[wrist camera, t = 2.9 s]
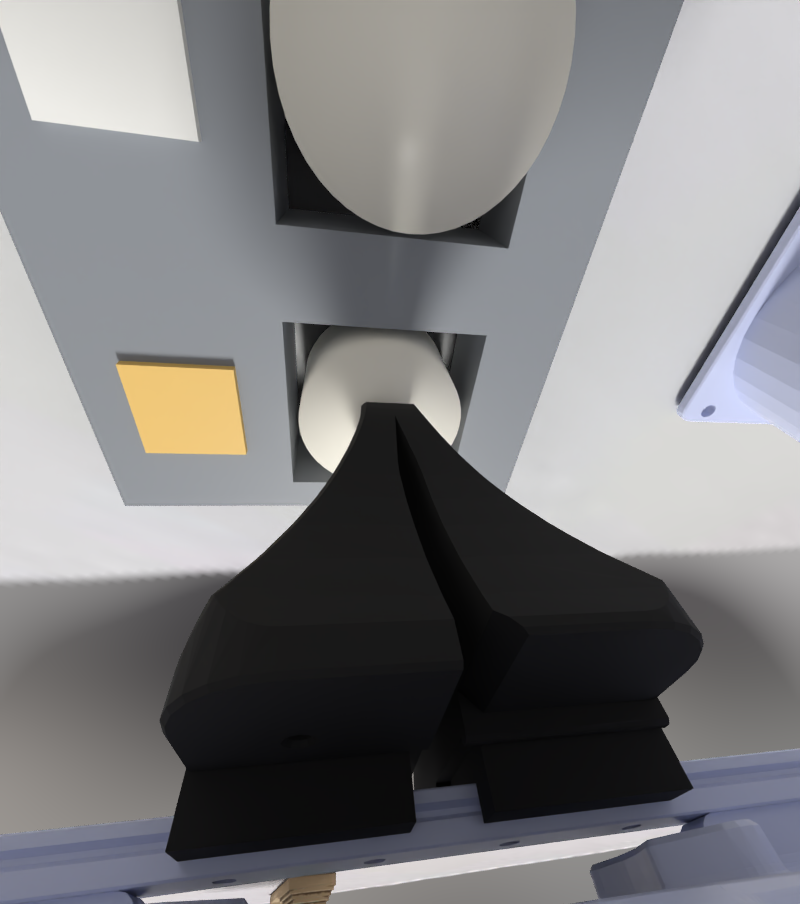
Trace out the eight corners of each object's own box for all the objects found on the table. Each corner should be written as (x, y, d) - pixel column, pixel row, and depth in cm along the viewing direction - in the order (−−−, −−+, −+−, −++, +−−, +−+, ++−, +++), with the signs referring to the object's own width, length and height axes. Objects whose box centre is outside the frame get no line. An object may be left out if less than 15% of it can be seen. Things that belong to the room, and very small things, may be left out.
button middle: (545, -65, 7) (630, -153, 5) (485, 223, 10) (523, 246, 8) (282, -129, 6) (251, -260, 4) (295, 202, 9) (281, 220, 7)
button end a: (454, 316, 12) (477, 352, 10) (431, 436, 15) (445, 484, 13) (303, 305, 11) (294, 341, 9) (307, 433, 14) (301, 483, 12)
